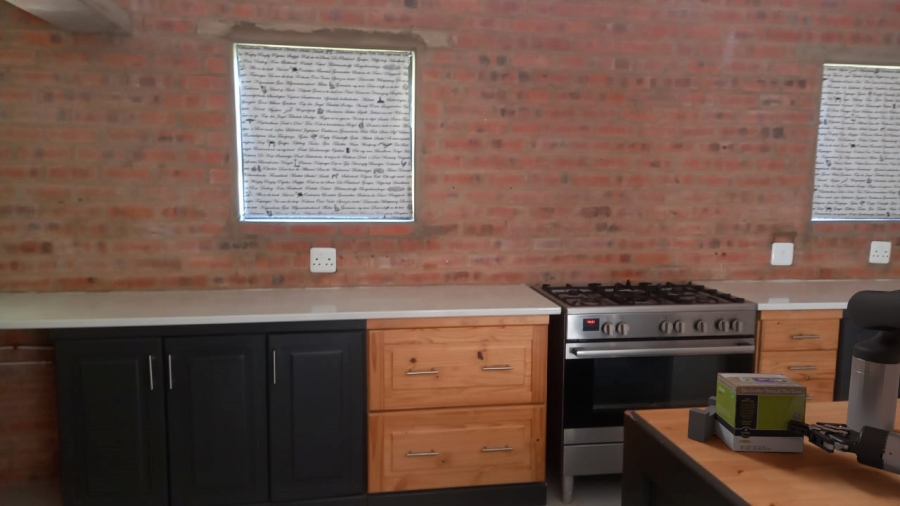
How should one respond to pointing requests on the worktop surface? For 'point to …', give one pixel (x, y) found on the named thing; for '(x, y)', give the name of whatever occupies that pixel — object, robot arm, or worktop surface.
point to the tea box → (759, 412)
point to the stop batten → (702, 421)
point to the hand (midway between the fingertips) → (788, 425)
